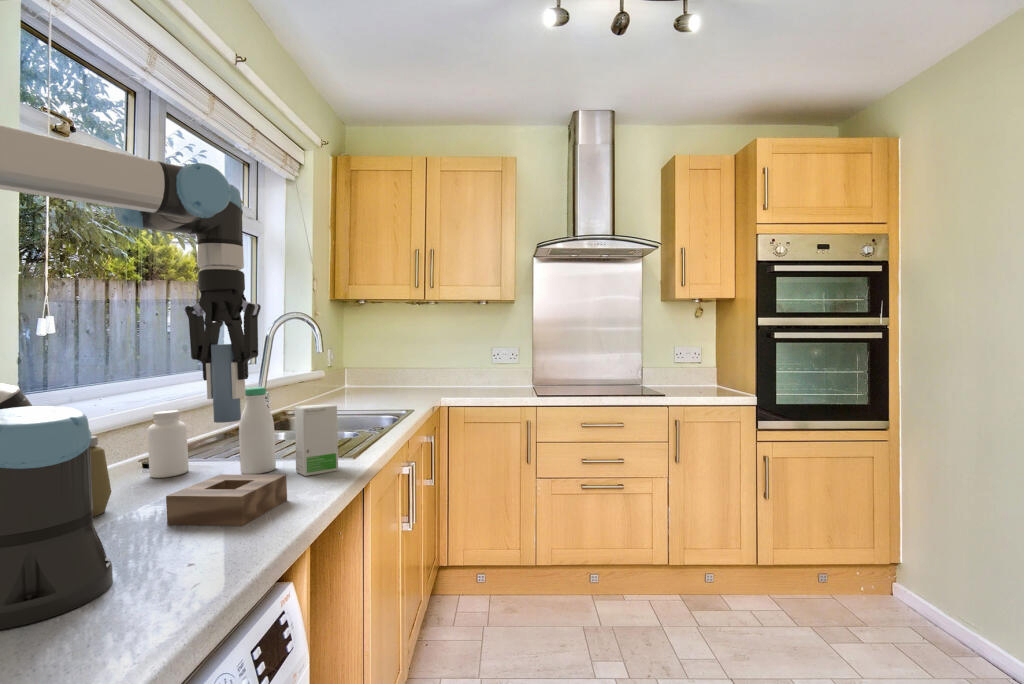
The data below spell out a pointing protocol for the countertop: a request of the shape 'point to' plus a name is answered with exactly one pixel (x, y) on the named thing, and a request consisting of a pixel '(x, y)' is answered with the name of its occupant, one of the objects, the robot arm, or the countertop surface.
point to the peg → (223, 385)
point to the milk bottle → (256, 434)
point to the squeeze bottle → (99, 478)
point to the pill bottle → (167, 445)
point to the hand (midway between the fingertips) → (226, 397)
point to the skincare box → (316, 439)
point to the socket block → (226, 500)
